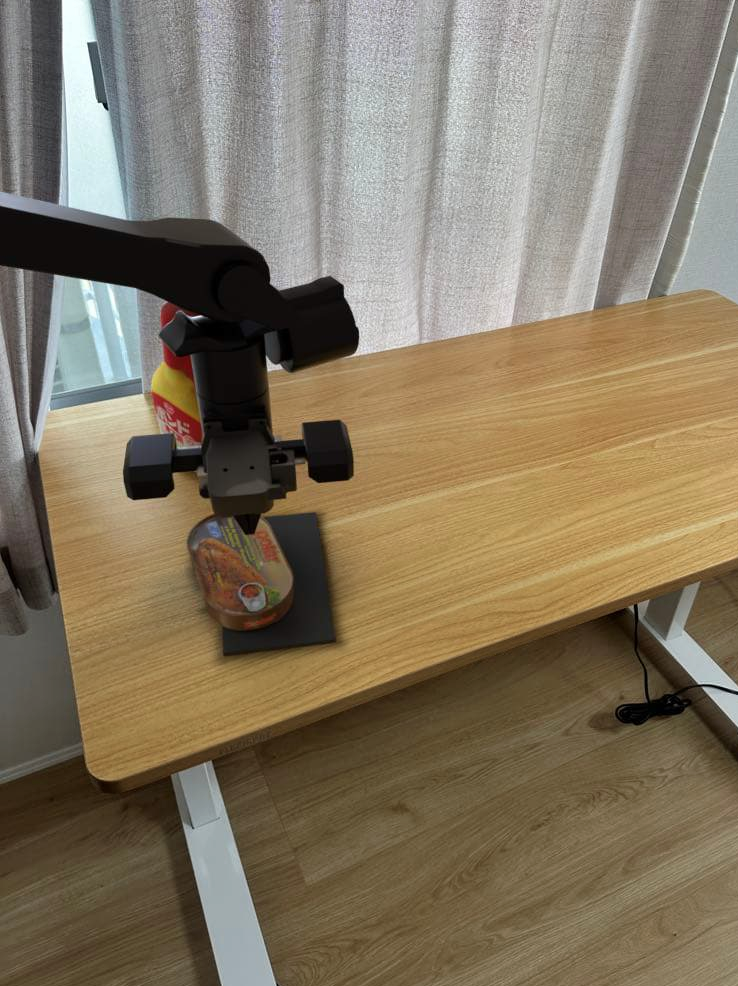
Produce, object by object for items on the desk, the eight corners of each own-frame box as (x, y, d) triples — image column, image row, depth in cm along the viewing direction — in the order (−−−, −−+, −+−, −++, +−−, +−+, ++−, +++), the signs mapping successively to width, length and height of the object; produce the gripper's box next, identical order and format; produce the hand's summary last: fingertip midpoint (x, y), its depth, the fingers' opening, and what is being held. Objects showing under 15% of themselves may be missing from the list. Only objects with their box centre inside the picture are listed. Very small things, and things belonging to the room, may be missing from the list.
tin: (178, 521, 81) (259, 497, 83) (185, 544, 83) (264, 519, 85) (212, 625, 70) (304, 594, 72) (219, 649, 72) (308, 617, 74)
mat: (223, 655, 71) (222, 652, 71) (221, 523, 85) (221, 520, 85) (335, 642, 73) (335, 639, 73) (316, 514, 87) (315, 511, 87)
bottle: (247, 475, 92) (230, 315, 80) (196, 495, 89) (170, 331, 77) (201, 426, 99) (178, 273, 87) (152, 443, 96) (121, 287, 84)
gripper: (99, 455, 56) (138, 608, 66) (363, 433, 60) (363, 582, 69) (114, 374, 65) (146, 520, 75) (343, 358, 68) (346, 500, 78)
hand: (249, 531), depth 74 cm, fingers closed
